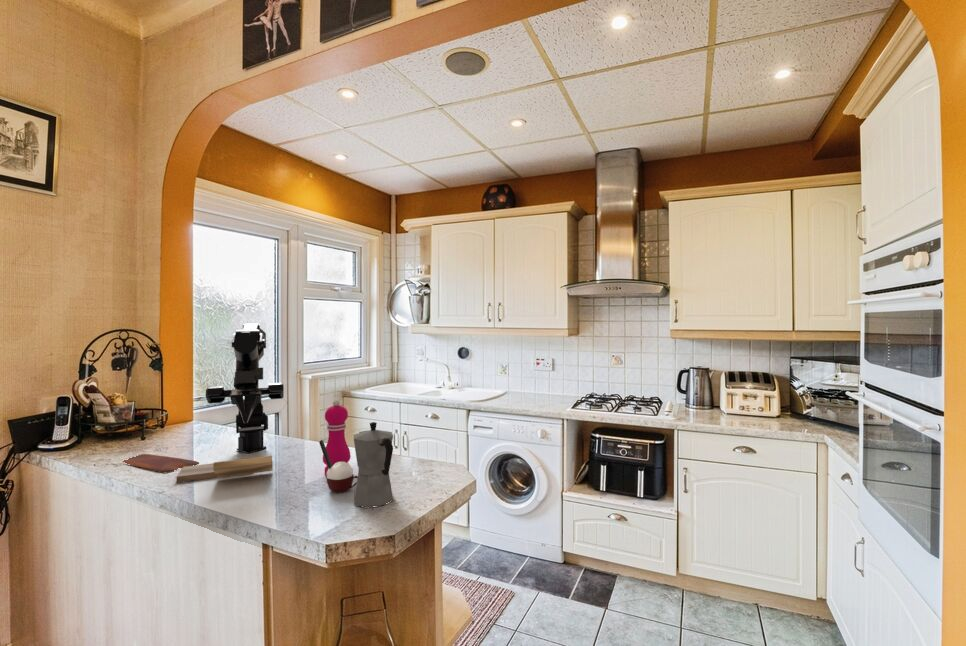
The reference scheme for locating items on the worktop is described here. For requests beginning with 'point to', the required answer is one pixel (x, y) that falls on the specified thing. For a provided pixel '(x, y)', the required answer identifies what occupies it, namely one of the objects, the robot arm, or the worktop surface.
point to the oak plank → (243, 466)
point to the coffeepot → (373, 467)
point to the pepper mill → (336, 435)
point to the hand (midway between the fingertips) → (245, 422)
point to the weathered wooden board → (196, 472)
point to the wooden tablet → (159, 462)
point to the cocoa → (338, 473)
